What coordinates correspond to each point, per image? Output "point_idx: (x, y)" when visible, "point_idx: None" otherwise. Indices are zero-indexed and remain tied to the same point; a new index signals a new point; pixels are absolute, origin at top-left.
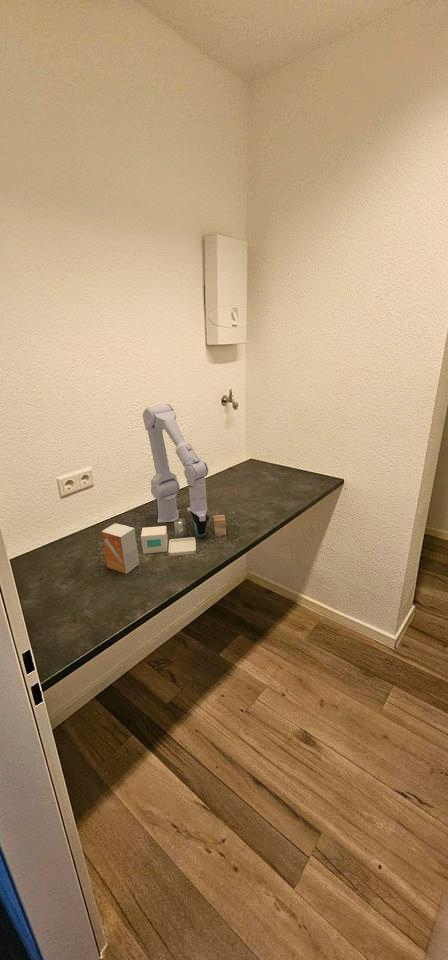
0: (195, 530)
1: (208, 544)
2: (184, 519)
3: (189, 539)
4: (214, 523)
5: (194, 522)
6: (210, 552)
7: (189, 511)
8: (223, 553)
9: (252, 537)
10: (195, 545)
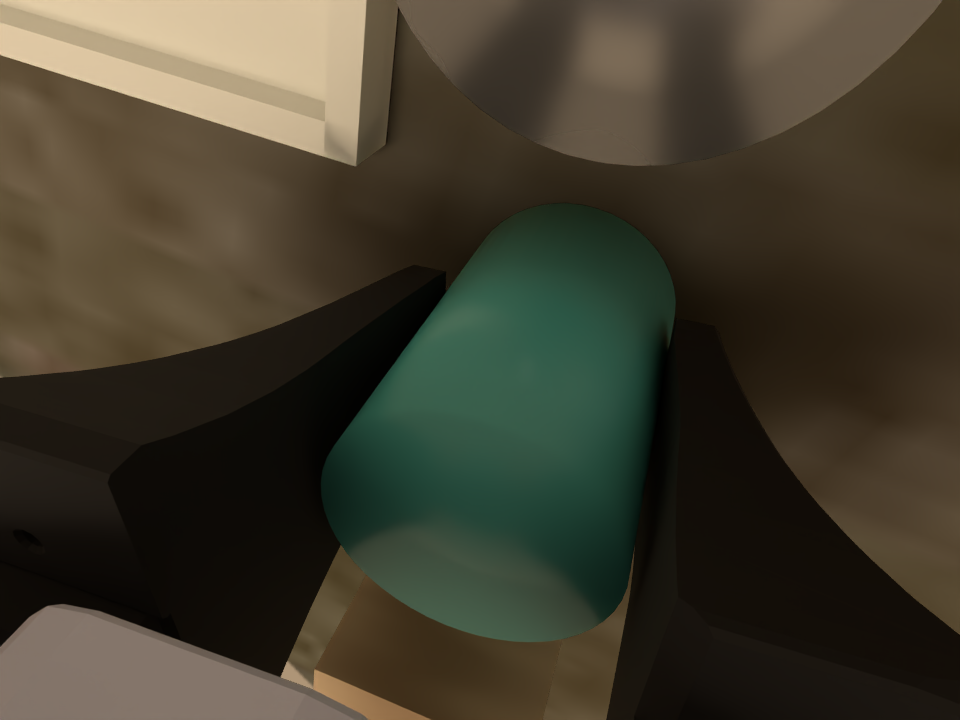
0: (503, 260)
1: (226, 281)
2: (688, 146)
3: (342, 25)
4: (345, 618)
5: (457, 373)
6: (35, 225)
7: (32, 644)
8: (30, 341)
9: (303, 654)
10: (65, 72)
